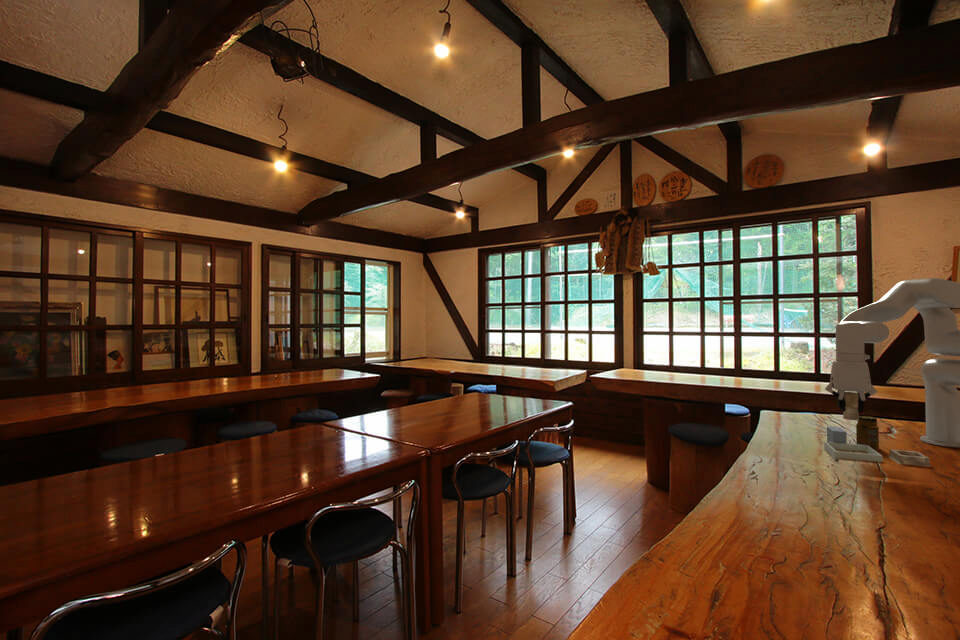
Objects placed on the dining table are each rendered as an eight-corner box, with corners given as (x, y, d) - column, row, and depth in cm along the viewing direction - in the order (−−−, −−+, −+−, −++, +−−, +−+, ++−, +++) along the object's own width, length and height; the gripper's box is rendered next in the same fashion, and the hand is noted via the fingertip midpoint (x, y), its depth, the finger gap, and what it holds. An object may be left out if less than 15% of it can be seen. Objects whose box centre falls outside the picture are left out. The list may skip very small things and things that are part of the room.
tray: (868, 453, 153) (867, 445, 153) (882, 465, 141) (882, 455, 141) (824, 449, 158) (824, 441, 158) (835, 460, 147) (834, 451, 147)
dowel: (856, 418, 150) (855, 392, 150) (860, 420, 147) (860, 393, 147) (841, 417, 152) (841, 391, 152) (845, 419, 148) (845, 393, 148)
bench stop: (840, 445, 162) (840, 427, 162) (846, 451, 156) (846, 431, 156) (827, 444, 164) (826, 426, 164) (832, 450, 157) (832, 430, 157)
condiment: (878, 449, 157) (878, 416, 157) (883, 455, 150) (882, 421, 150) (852, 446, 162) (851, 414, 162) (855, 452, 155) (855, 418, 155)
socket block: (919, 462, 143) (919, 451, 143) (931, 470, 136) (931, 458, 136) (887, 459, 147) (887, 448, 147) (898, 466, 139) (898, 455, 139)
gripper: (877, 357, 149) (877, 410, 149) (817, 356, 156) (817, 407, 156) (886, 359, 142) (887, 415, 142) (823, 358, 150) (823, 411, 150)
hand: (850, 410), depth 149 cm, fingers closed on dowel, 4 cm apart
